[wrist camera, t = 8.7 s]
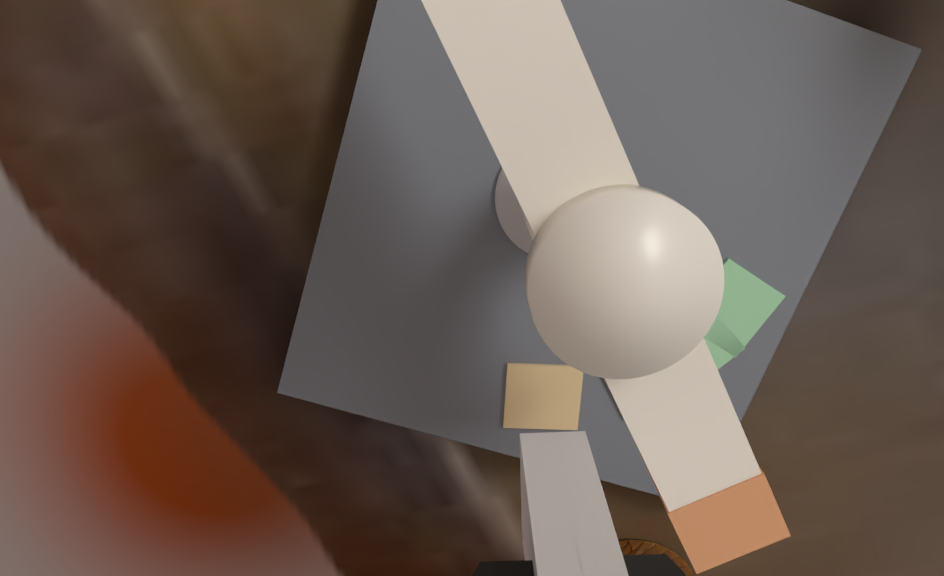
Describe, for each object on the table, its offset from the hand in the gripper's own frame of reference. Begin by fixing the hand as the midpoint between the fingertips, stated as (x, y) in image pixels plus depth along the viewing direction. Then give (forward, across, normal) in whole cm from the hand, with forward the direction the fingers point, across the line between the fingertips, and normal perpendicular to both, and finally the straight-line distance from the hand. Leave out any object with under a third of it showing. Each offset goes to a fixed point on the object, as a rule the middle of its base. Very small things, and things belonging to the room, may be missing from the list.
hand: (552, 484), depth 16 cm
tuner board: (+11, +2, +4) cm, 12 cm away
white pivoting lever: (+10, +1, +5) cm, 11 cm away
